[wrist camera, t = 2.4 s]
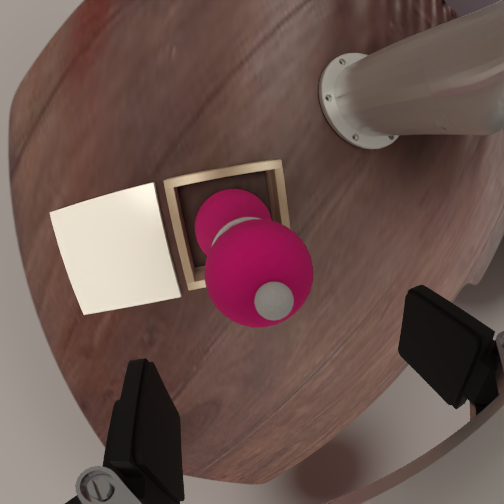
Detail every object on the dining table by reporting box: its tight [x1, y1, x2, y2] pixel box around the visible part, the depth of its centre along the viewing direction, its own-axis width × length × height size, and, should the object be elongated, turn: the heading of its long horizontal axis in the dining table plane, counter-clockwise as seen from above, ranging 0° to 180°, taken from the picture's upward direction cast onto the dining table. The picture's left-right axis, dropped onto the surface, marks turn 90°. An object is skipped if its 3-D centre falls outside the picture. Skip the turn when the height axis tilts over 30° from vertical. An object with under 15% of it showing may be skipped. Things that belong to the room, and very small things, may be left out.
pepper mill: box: [195, 189, 313, 327], centre depth 21 cm, size 7×7×20 cm
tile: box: [50, 182, 181, 315], centre depth 29 cm, size 13×13×1 cm
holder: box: [164, 160, 290, 291], centre depth 29 cm, size 11×11×4 cm
